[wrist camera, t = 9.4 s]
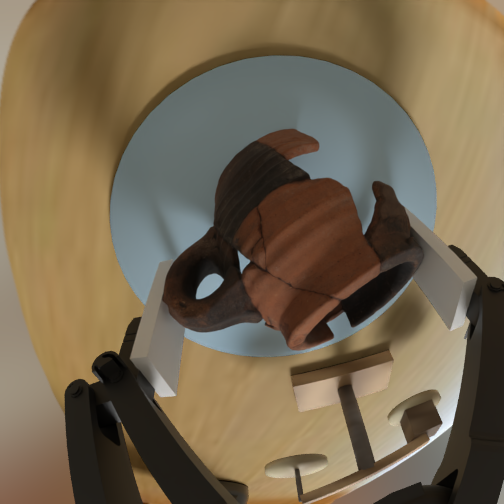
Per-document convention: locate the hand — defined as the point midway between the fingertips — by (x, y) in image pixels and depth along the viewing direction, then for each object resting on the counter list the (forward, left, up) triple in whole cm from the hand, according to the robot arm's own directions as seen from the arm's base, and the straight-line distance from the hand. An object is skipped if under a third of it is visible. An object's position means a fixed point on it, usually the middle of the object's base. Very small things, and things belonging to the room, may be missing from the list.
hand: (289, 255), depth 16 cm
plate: (0, 0, -2) cm, 2 cm away
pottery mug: (0, +1, -2) cm, 2 cm away
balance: (+3, -16, -2) cm, 16 cm away
